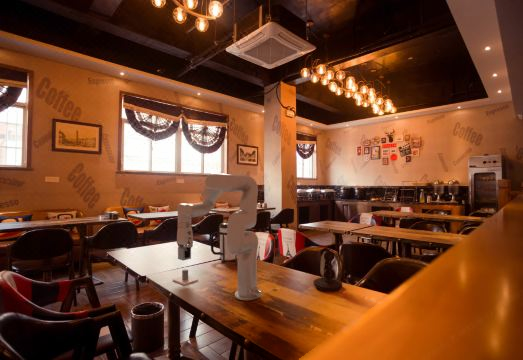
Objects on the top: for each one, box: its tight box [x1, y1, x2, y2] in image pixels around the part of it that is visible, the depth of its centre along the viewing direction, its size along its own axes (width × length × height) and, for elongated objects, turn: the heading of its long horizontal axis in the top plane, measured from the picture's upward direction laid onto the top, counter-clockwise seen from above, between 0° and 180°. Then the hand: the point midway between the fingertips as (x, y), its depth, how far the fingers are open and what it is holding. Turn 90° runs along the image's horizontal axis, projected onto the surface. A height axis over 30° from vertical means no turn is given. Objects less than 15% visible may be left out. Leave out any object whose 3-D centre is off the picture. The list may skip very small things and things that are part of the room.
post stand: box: [172, 269, 199, 286], centre depth 161 cm, size 12×9×6 cm
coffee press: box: [210, 218, 238, 264], centre depth 202 cm, size 17×16×30 cm
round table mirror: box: [313, 247, 343, 292], centre depth 148 cm, size 15×15×20 cm
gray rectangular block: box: [177, 246, 192, 261], centre depth 161 cm, size 5×5×7 cm
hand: (184, 256), depth 161 cm, fingers closed on gray rectangular block, 5 cm apart
